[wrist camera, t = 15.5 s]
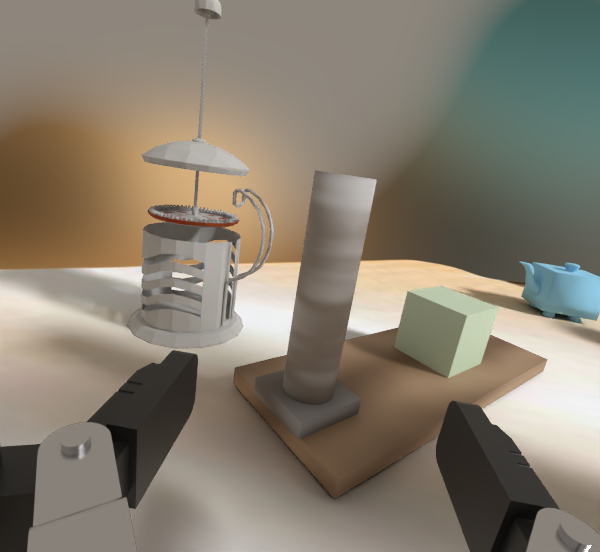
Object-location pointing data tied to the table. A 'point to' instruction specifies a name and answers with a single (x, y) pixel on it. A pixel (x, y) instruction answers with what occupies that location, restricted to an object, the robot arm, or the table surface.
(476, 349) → the cube
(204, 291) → the french press
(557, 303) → the teapot
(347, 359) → the wooden board with post
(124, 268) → the table surface
